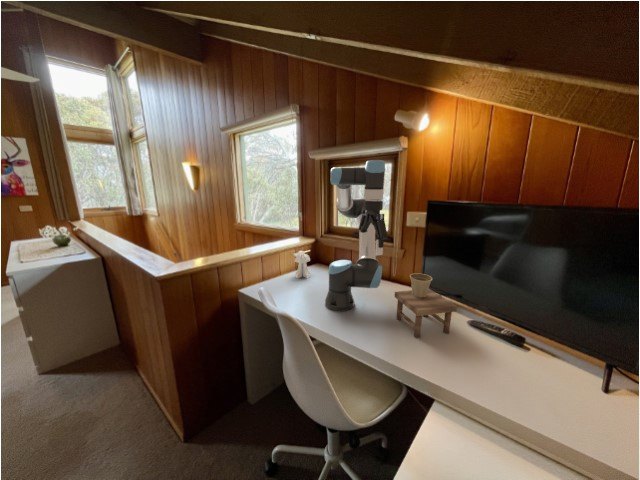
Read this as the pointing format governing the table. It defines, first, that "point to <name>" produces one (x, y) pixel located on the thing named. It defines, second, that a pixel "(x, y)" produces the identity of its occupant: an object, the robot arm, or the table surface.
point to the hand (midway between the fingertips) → (370, 250)
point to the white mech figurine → (302, 264)
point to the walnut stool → (425, 309)
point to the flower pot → (420, 284)
